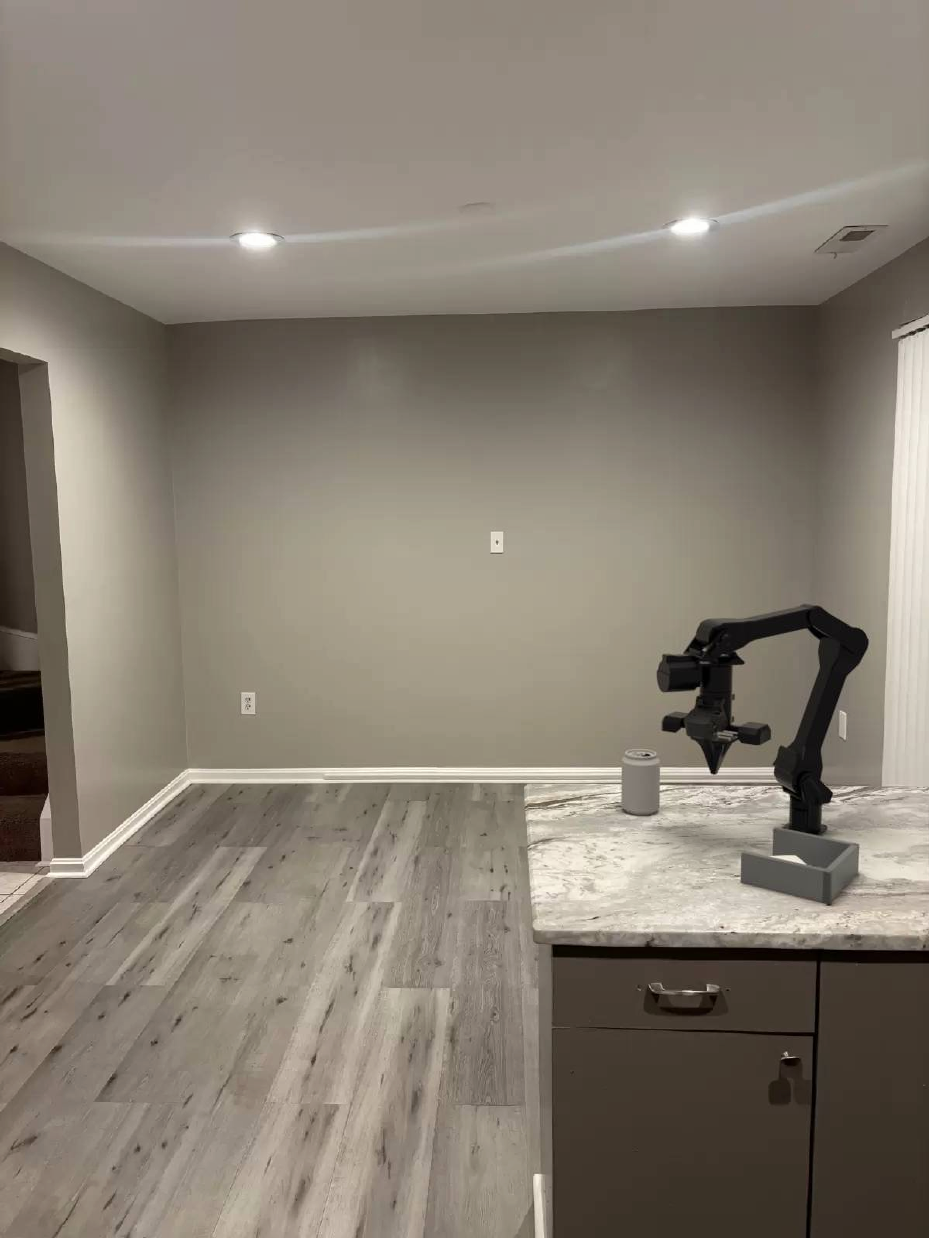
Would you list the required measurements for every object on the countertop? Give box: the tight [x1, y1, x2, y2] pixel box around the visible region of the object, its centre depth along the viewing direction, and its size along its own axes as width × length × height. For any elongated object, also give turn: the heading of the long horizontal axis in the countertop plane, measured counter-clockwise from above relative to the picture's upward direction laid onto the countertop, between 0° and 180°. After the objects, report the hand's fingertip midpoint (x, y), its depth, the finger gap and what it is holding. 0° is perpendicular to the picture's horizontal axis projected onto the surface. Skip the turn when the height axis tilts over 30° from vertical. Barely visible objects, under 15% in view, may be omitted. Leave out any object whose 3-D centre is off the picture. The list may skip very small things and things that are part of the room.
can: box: [620, 748, 661, 816], centre depth 188 cm, size 8×8×12 cm
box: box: [740, 826, 860, 905], centre depth 154 cm, size 15×14×5 cm
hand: (714, 774), depth 171 cm, fingers closed
